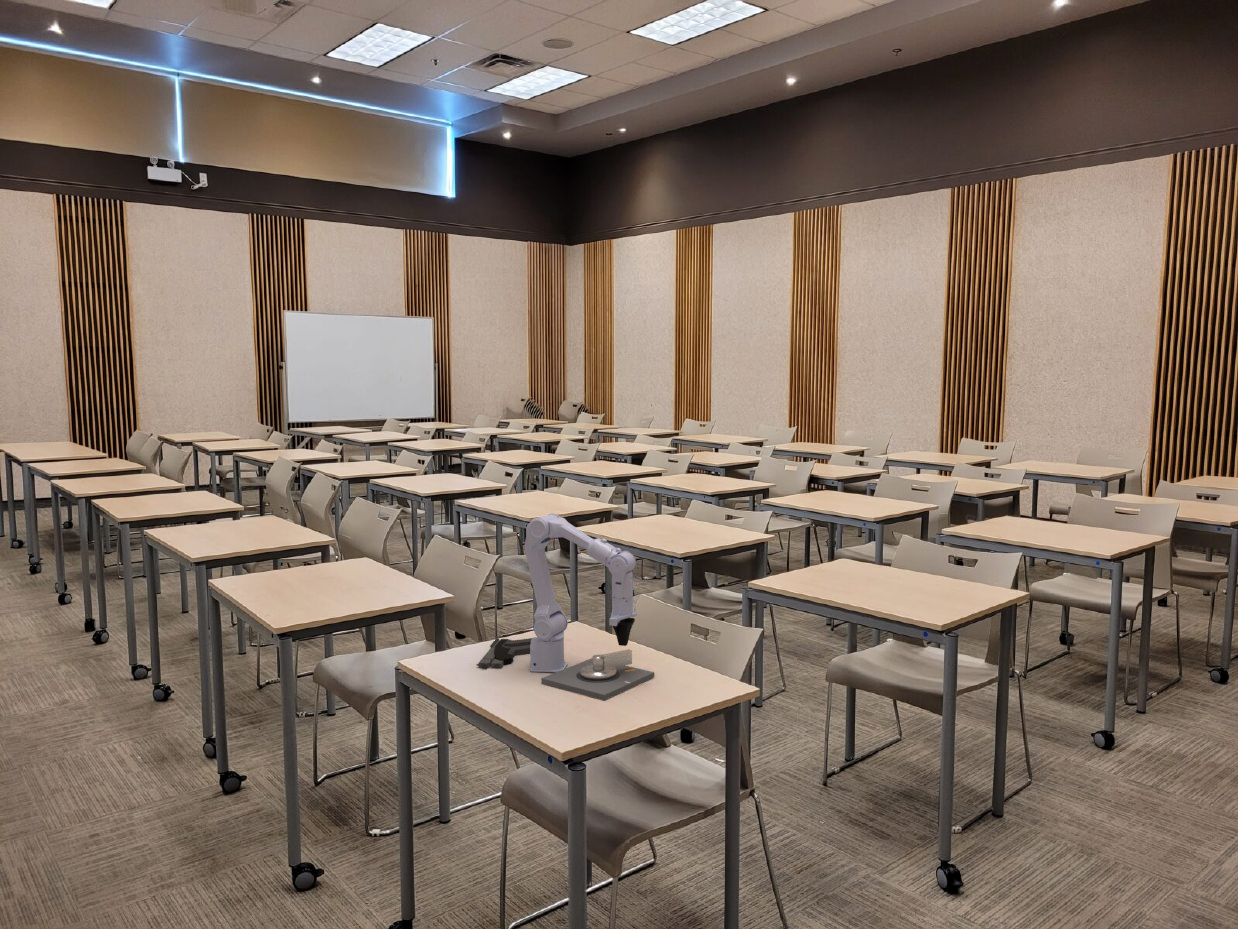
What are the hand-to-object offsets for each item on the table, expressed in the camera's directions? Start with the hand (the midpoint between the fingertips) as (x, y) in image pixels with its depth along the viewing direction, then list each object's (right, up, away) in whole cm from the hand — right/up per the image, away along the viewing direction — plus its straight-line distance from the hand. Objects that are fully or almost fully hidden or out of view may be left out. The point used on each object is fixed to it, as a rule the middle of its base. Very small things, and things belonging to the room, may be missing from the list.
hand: (623, 645), depth 242 cm
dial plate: (-7, -10, -1) cm, 12 cm away
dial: (-4, -8, 0) cm, 9 cm away
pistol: (-34, -8, +22) cm, 41 cm away
